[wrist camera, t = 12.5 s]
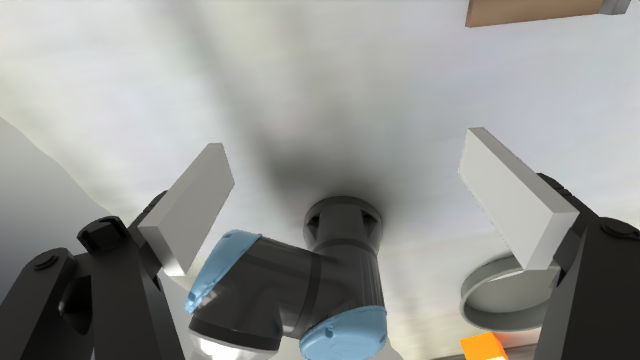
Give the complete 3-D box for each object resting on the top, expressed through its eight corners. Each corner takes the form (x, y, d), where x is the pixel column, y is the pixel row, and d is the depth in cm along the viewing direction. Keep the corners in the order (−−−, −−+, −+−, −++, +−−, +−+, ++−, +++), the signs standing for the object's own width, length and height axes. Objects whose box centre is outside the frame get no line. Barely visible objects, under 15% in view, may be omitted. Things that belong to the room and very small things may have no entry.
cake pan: (601, 266, 57) (619, 285, 53) (516, 322, 71) (526, 340, 67) (501, 235, 54) (513, 254, 50) (432, 300, 67) (438, 319, 63)
